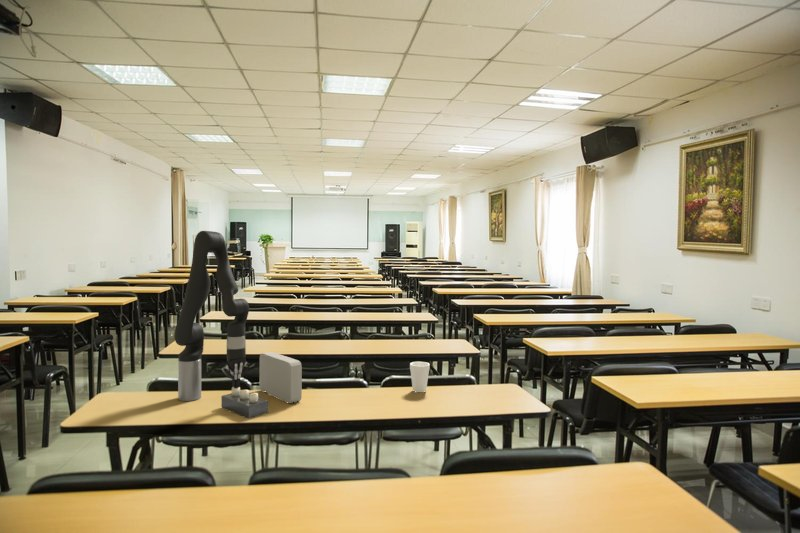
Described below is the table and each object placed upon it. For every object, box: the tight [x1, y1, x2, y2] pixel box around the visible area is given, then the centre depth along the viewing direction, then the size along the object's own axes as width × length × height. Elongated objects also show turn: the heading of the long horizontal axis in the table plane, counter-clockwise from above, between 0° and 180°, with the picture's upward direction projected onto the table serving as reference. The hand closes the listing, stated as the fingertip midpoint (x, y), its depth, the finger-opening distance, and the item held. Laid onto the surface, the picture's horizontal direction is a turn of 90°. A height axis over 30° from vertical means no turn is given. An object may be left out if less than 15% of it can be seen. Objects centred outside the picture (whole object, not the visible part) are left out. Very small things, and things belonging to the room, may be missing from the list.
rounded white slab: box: [258, 351, 303, 404], centre depth 210 cm, size 29×8×18 cm, turn 44°
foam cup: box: [409, 361, 431, 393], centre depth 220 cm, size 10×9×13 cm
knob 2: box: [240, 389, 250, 399], centre depth 190 cm, size 3×3×8 cm
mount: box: [220, 392, 269, 420], centre depth 190 cm, size 20×9×5 cm, turn 51°
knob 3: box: [249, 392, 259, 403], centre depth 186 cm, size 3×3×8 cm
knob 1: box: [231, 386, 241, 396], centre depth 194 cm, size 3×3×8 cm
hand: (236, 387), depth 194 cm, fingers closed
